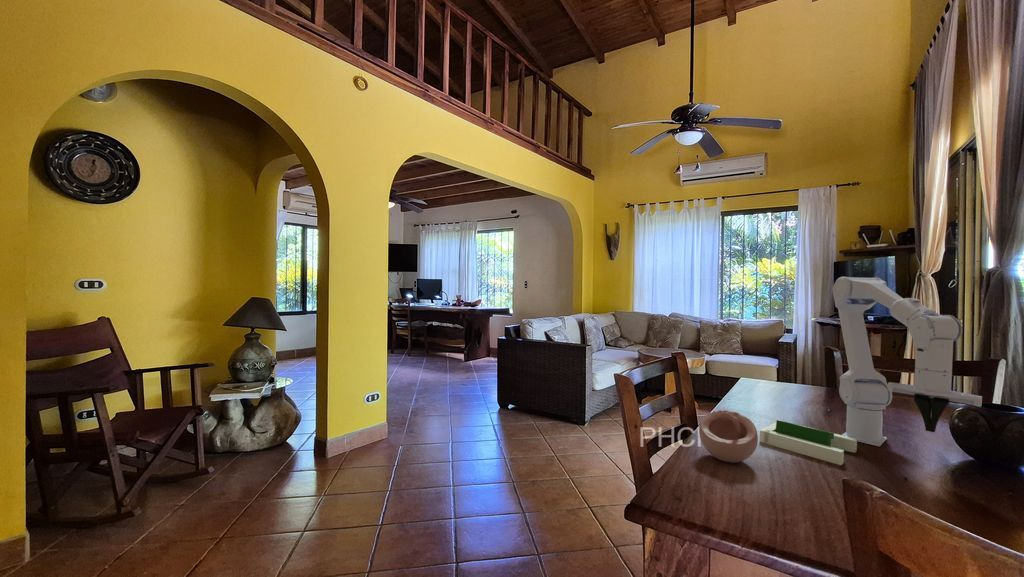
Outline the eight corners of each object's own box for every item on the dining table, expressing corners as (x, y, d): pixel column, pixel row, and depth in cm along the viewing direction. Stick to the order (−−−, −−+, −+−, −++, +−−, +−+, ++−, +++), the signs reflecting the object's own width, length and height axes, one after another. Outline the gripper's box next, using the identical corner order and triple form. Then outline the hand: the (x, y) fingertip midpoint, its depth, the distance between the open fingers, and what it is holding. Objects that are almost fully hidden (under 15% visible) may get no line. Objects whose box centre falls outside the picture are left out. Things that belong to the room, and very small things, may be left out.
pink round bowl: (693, 461, 94) (695, 411, 94) (703, 445, 104) (704, 400, 103) (754, 477, 87) (756, 423, 87) (758, 458, 97) (760, 409, 97)
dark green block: (822, 468, 103) (843, 438, 101) (815, 468, 99) (837, 437, 97) (774, 435, 112) (793, 407, 110) (766, 434, 108) (786, 406, 106)
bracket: (779, 430, 116) (779, 420, 116) (856, 450, 103) (857, 439, 103) (759, 441, 107) (759, 430, 107) (841, 465, 94) (841, 452, 94)
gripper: (885, 365, 94) (883, 424, 94) (981, 378, 83) (978, 445, 83) (891, 362, 99) (889, 419, 99) (983, 374, 87) (980, 437, 87)
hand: (930, 430), depth 91 cm, fingers closed
